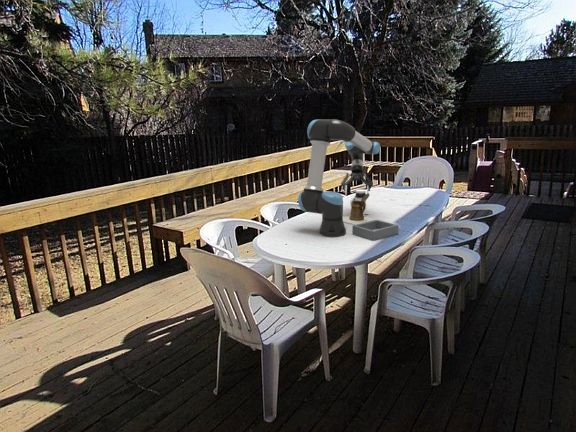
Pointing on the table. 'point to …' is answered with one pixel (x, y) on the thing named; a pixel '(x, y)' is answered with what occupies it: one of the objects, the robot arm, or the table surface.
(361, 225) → the hollow square frame
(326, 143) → the robot arm
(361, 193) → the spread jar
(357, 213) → the wooden mug
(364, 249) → the table surface
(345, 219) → the cream board
